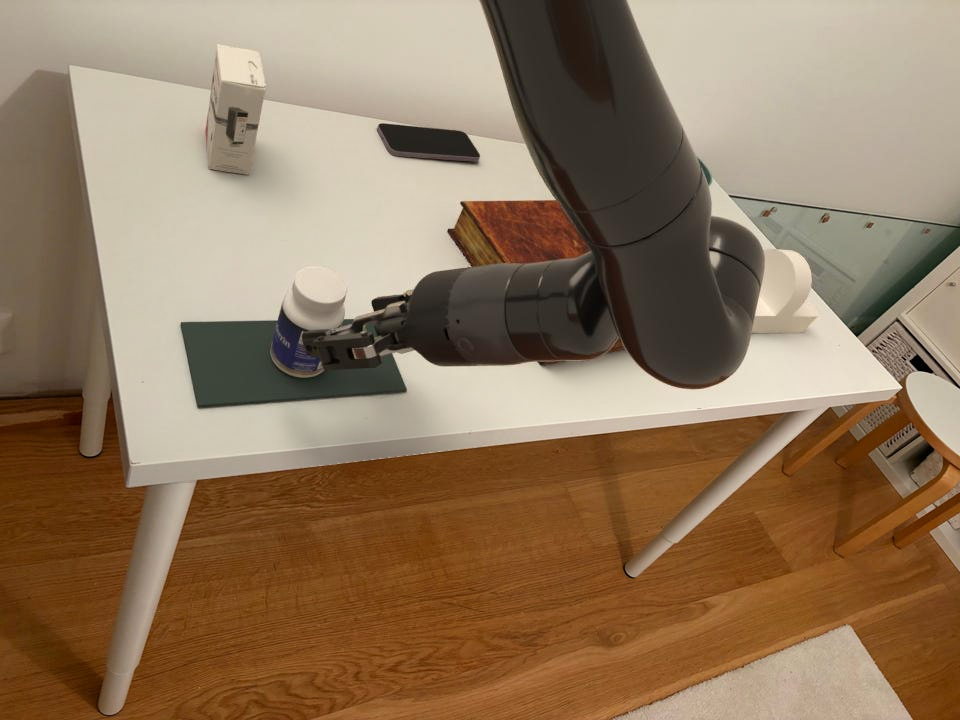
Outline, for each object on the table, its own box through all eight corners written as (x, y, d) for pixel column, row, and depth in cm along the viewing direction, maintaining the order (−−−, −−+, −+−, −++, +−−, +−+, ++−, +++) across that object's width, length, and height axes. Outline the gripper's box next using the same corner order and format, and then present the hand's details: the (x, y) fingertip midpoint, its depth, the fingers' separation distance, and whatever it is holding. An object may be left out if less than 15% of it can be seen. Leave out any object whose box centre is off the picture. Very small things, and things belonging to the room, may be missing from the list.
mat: (197, 408, 63) (197, 405, 62) (180, 324, 68) (180, 321, 68) (406, 392, 73) (407, 389, 73) (376, 320, 79) (377, 318, 78)
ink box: (203, 129, 90) (215, 39, 83) (244, 136, 93) (259, 49, 85) (207, 170, 85) (220, 78, 77) (250, 176, 87) (266, 88, 80)
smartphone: (375, 122, 106) (464, 130, 114) (374, 128, 107) (462, 136, 114) (391, 151, 102) (482, 158, 110) (389, 158, 103) (480, 164, 110)
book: (541, 366, 84) (560, 337, 80) (447, 231, 95) (460, 200, 92) (700, 336, 101) (721, 311, 98) (604, 224, 112) (620, 198, 109)
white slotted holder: (692, 287, 110) (735, 231, 103) (771, 289, 119) (815, 239, 112) (727, 333, 104) (774, 278, 97) (806, 332, 113) (854, 282, 106)
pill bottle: (264, 335, 71) (283, 259, 64) (322, 336, 73) (345, 263, 67) (274, 381, 67) (295, 305, 61) (334, 379, 70) (360, 307, 63)
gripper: (522, 241, 58) (384, 262, 68) (408, 300, 48) (265, 314, 58) (544, 328, 60) (407, 335, 71) (439, 402, 50) (296, 398, 60)
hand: (343, 326), depth 64 cm, fingers open, 8 cm apart
